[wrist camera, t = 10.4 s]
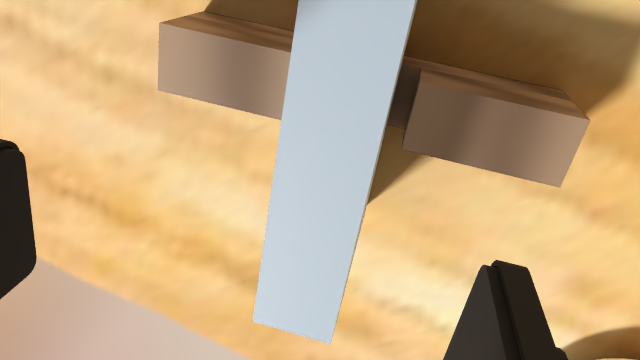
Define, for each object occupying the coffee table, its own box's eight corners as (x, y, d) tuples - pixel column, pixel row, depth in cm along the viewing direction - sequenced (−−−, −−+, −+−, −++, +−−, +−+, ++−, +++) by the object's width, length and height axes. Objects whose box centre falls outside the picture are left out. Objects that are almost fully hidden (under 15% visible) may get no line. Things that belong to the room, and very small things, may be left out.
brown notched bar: (199, 68, 26) (157, 90, 22) (203, 11, 25) (159, 22, 21) (539, 148, 24) (560, 187, 20) (563, 90, 23) (590, 120, 19)
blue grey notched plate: (315, 192, 28) (252, 321, 18) (367, -82, 22) (314, -109, 12) (366, 205, 28) (330, 344, 18) (435, -70, 21) (436, -86, 12)
